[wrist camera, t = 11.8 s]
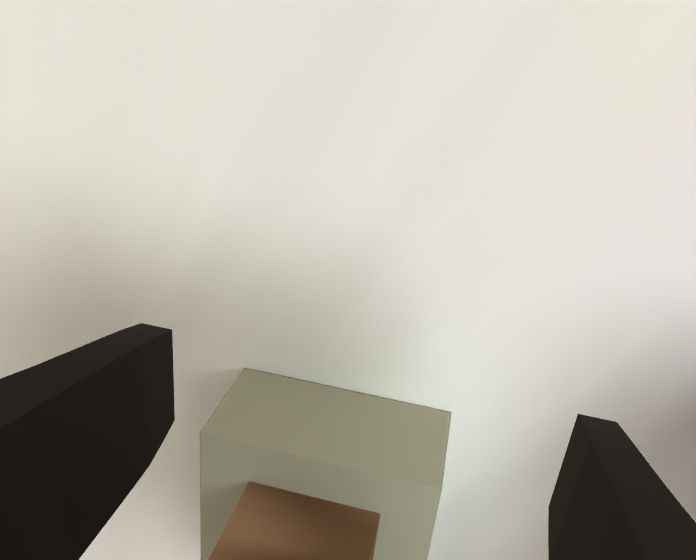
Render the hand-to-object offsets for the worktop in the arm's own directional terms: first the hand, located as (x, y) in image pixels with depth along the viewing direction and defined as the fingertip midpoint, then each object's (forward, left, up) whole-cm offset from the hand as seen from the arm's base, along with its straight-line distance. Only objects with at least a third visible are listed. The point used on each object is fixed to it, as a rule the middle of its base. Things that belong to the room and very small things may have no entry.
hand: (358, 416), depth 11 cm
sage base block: (+2, +11, -10) cm, 15 cm away
